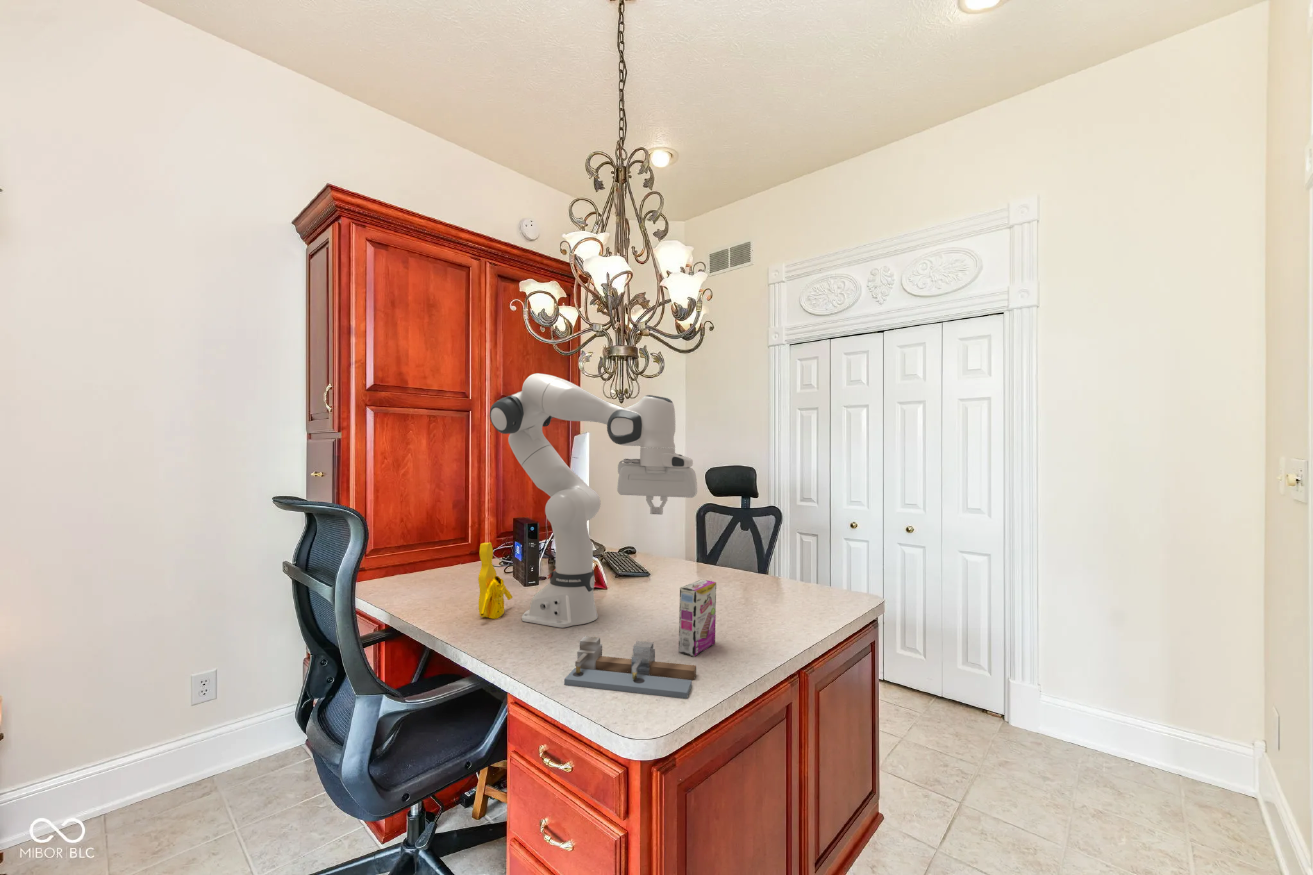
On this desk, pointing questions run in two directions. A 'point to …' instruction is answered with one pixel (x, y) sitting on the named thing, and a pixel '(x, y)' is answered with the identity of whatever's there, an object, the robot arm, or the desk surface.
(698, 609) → the candy bar box
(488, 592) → the figure statuette
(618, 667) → the rail
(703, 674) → the desk surface
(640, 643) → the sliding jaw
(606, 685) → the flange plate
